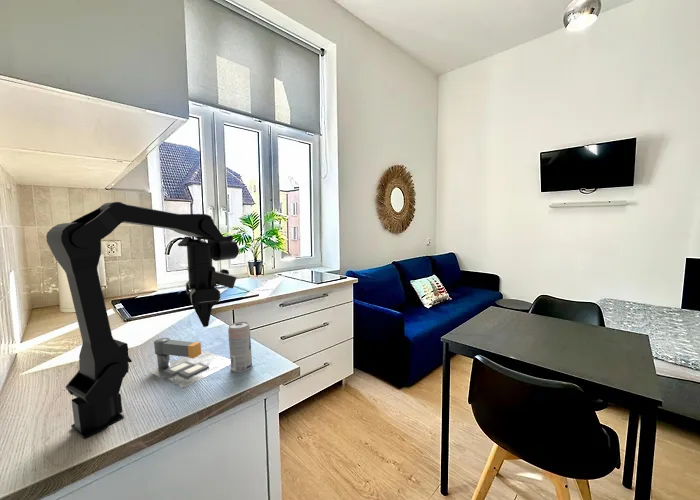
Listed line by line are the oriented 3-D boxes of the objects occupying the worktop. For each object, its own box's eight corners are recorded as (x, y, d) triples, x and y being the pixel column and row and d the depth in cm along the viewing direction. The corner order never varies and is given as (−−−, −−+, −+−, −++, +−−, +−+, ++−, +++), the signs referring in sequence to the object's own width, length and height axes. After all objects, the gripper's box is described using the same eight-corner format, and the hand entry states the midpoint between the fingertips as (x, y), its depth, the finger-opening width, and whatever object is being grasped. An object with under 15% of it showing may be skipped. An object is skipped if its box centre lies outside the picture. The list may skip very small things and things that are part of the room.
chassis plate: (183, 389, 72) (182, 371, 71) (147, 372, 80) (146, 356, 80) (236, 362, 84) (235, 347, 84) (200, 351, 93) (199, 337, 92)
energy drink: (251, 362, 85) (248, 320, 83) (252, 370, 80) (250, 326, 78) (231, 365, 83) (228, 323, 81) (231, 375, 78) (227, 329, 76)
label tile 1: (187, 378, 76) (187, 375, 76) (178, 374, 78) (178, 372, 78) (209, 367, 81) (208, 365, 81) (199, 364, 83) (199, 362, 83)
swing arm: (151, 354, 81) (150, 342, 80) (163, 348, 84) (162, 337, 84) (192, 359, 77) (191, 346, 77) (202, 353, 80) (201, 341, 80)
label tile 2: (172, 375, 77) (172, 373, 77) (163, 372, 79) (163, 370, 79) (194, 365, 82) (194, 363, 82) (186, 362, 84) (186, 360, 84)
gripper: (240, 263, 75) (243, 325, 76) (226, 257, 91) (228, 309, 92) (190, 267, 69) (193, 334, 70) (184, 260, 85) (187, 315, 86)
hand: (203, 321), depth 80 cm, fingers open, 9 cm apart
